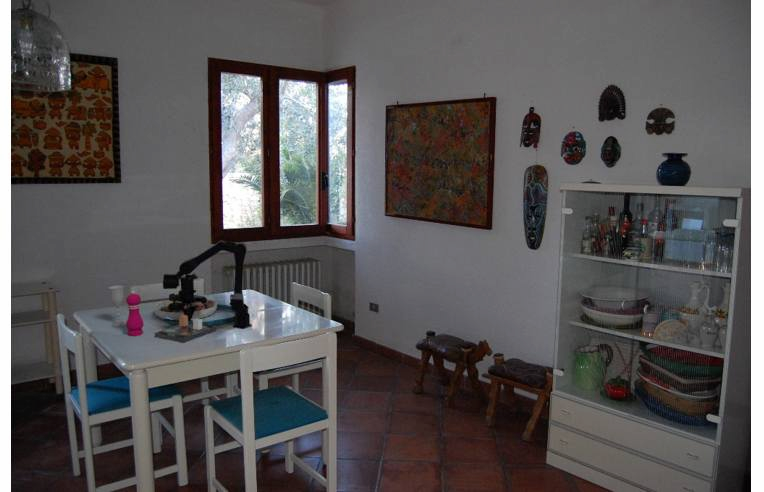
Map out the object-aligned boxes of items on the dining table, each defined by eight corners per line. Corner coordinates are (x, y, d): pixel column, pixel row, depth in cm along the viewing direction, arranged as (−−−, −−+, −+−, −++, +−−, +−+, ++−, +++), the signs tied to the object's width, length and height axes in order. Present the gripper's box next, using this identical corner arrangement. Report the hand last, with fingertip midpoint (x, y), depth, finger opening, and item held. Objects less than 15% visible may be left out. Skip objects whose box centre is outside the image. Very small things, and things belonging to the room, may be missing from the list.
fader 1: (188, 325, 267) (187, 315, 266) (184, 326, 265) (183, 316, 264) (183, 324, 268) (182, 314, 268) (179, 325, 266) (178, 315, 266)
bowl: (143, 321, 282) (142, 305, 281) (172, 306, 312) (171, 291, 311) (202, 324, 279) (201, 308, 278) (226, 308, 308) (225, 293, 307)
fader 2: (202, 328, 262) (201, 318, 261) (198, 329, 260) (198, 320, 259) (197, 327, 263) (196, 317, 263) (193, 328, 261) (192, 319, 261)
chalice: (130, 323, 277) (128, 286, 274) (118, 327, 271) (116, 289, 268) (119, 321, 280) (117, 285, 278) (107, 325, 274) (104, 287, 271)
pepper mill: (137, 337, 257) (135, 292, 254) (123, 336, 258) (120, 291, 255) (147, 332, 264) (145, 289, 261) (133, 331, 265) (130, 288, 262)
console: (216, 330, 267) (216, 325, 267) (184, 342, 250) (184, 336, 249) (188, 325, 275) (188, 320, 275) (155, 337, 257) (154, 331, 257)
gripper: (189, 282, 279) (190, 314, 281) (158, 290, 262) (160, 323, 265) (207, 285, 274) (208, 317, 276) (177, 293, 258) (178, 327, 260)
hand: (188, 321), depth 269 cm, fingers closed
